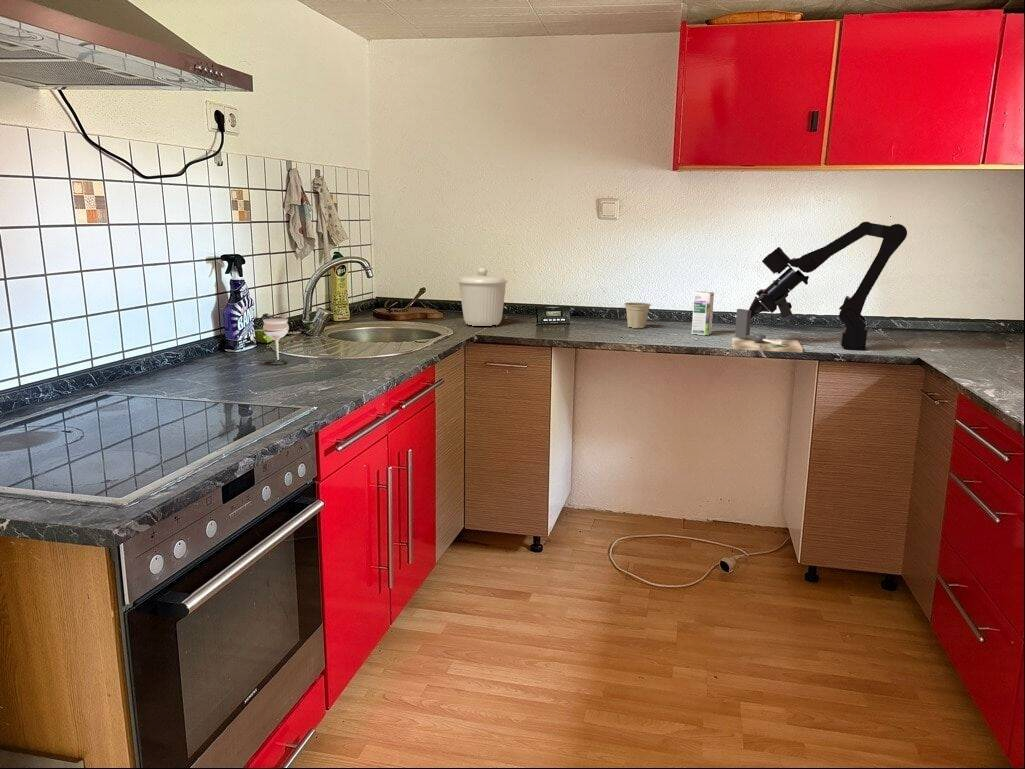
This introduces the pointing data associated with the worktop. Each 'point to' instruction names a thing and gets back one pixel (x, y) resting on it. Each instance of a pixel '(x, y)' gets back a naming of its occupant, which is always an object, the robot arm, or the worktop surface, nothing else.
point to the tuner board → (767, 345)
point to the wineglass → (276, 329)
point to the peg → (748, 327)
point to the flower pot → (637, 314)
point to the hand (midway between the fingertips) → (745, 318)
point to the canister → (482, 298)
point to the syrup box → (702, 313)
